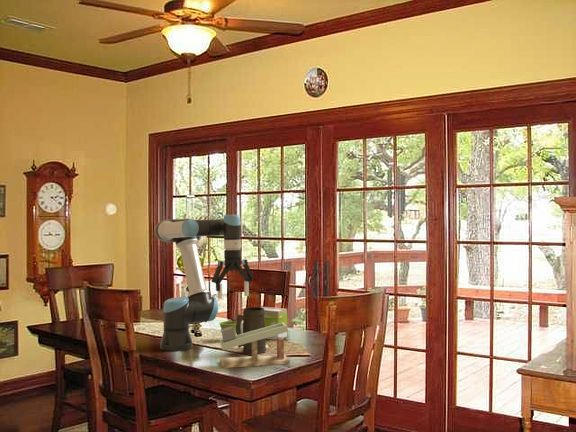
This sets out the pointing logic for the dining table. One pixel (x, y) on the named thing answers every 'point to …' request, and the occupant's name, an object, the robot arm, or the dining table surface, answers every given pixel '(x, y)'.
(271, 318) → the tea box
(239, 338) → the beam
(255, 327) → the beer stein
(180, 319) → the robot arm
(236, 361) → the beam stand
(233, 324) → the plant pot
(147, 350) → the dining table surface
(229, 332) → the block
